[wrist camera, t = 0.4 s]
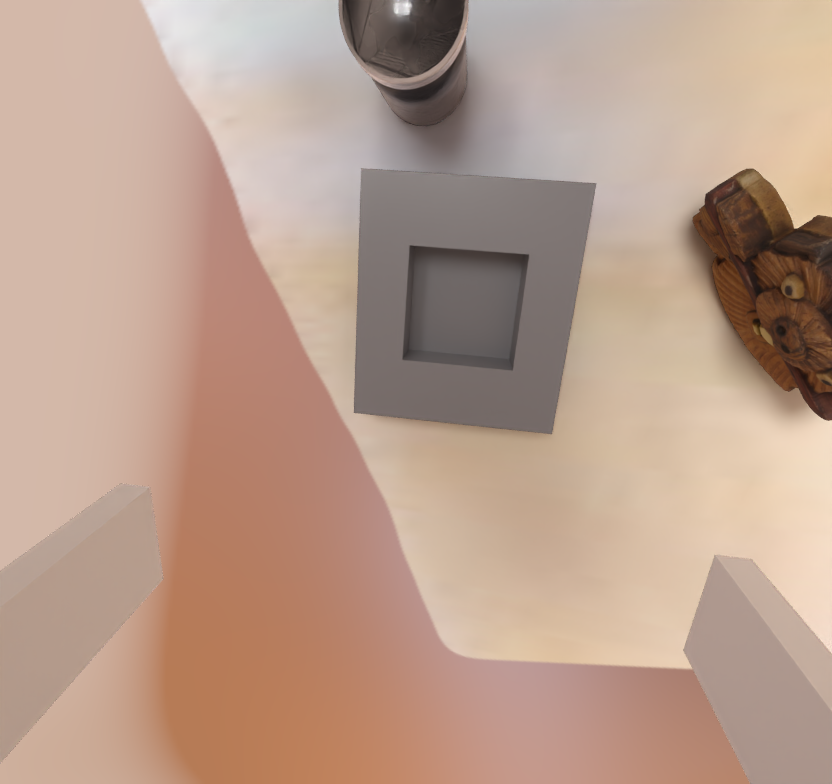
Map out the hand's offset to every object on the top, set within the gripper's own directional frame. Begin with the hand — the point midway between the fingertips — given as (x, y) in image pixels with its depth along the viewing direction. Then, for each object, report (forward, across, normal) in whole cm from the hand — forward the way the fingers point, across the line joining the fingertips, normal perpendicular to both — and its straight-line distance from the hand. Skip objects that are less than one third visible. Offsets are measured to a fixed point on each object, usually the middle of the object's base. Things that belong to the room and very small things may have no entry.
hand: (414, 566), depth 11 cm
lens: (+26, -3, +17) cm, 31 cm away
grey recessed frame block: (+26, 0, +3) cm, 26 cm away
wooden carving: (+26, +20, +4) cm, 33 cm away
